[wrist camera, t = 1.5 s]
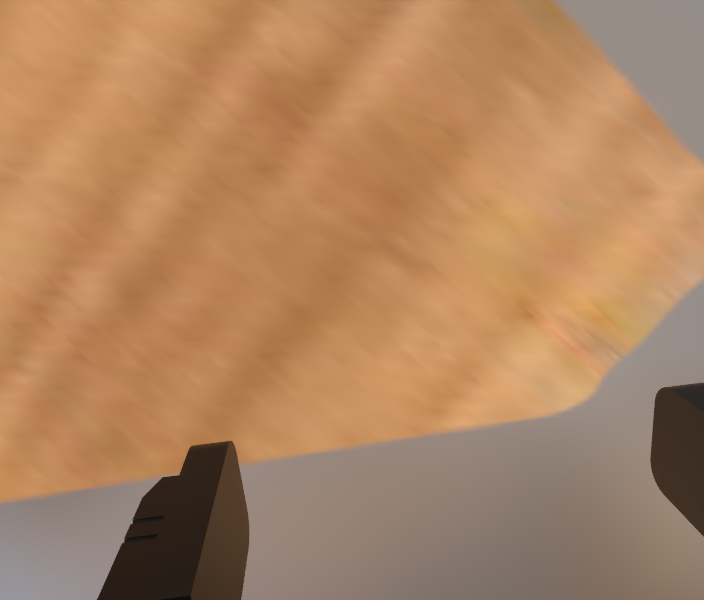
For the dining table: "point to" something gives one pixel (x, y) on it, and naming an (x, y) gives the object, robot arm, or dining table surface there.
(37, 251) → the dining table surface
